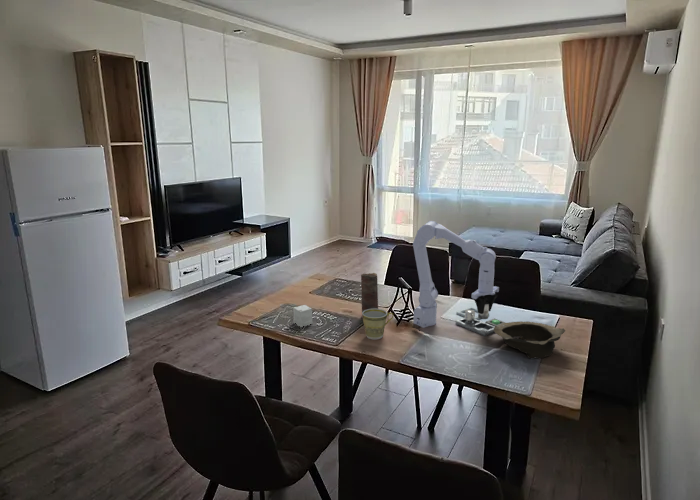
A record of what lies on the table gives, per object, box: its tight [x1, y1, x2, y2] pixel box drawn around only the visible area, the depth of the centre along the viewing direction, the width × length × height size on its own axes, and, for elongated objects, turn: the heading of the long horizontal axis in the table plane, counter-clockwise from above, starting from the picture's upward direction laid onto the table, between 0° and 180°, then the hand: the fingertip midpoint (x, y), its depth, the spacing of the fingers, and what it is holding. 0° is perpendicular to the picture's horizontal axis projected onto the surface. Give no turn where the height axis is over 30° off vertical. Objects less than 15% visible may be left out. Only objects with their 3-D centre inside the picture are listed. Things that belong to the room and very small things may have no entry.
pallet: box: [455, 317, 495, 337], centre depth 189 cm, size 8×15×2 cm, turn 36°
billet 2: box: [477, 302, 490, 320], centre depth 185 cm, size 4×4×6 cm
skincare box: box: [292, 304, 314, 328], centre depth 196 cm, size 6×6×7 cm
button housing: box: [484, 317, 507, 326], centre depth 192 cm, size 6×6×2 cm
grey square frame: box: [456, 306, 490, 320], centre depth 203 cm, size 10×10×2 cm
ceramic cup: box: [361, 308, 394, 341], centre depth 184 cm, size 13×10×10 cm
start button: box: [491, 319, 501, 325], centre depth 192 cm, size 3×3×2 cm
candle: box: [360, 272, 379, 313], centre depth 202 cm, size 8×7×20 cm
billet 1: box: [464, 310, 476, 325], centre depth 191 cm, size 4×4×6 cm
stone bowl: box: [493, 320, 566, 359], centre depth 172 cm, size 25×25×9 cm
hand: (484, 311), depth 185 cm, fingers closed on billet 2, 4 cm apart
